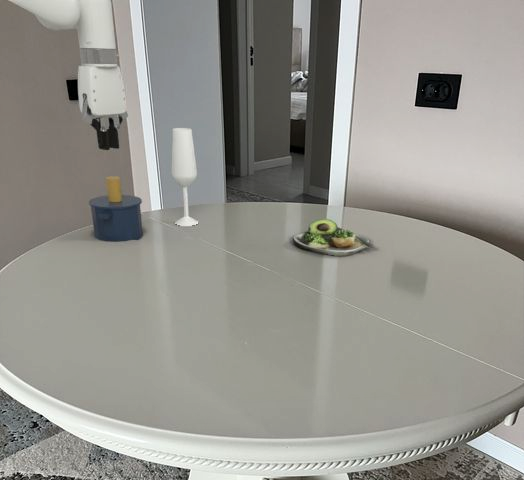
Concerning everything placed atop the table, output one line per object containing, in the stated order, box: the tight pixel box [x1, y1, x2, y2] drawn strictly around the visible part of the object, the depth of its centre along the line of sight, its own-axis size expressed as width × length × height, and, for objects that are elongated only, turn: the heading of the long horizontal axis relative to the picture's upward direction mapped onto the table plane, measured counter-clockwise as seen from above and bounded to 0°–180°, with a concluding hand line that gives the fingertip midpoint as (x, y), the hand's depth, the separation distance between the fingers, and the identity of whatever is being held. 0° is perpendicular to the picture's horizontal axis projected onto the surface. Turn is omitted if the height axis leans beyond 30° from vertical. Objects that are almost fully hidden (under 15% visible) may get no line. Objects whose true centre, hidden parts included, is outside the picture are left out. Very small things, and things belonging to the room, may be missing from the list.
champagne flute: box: [170, 127, 199, 227], centre depth 140 cm, size 7×7×24 cm
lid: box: [88, 175, 143, 209], centre depth 129 cm, size 13×13×7 cm
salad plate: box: [292, 218, 376, 257], centre depth 130 cm, size 19×18×5 cm
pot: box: [90, 204, 144, 243], centre depth 132 cm, size 12×17×8 cm
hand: (109, 148), depth 124 cm, fingers closed
